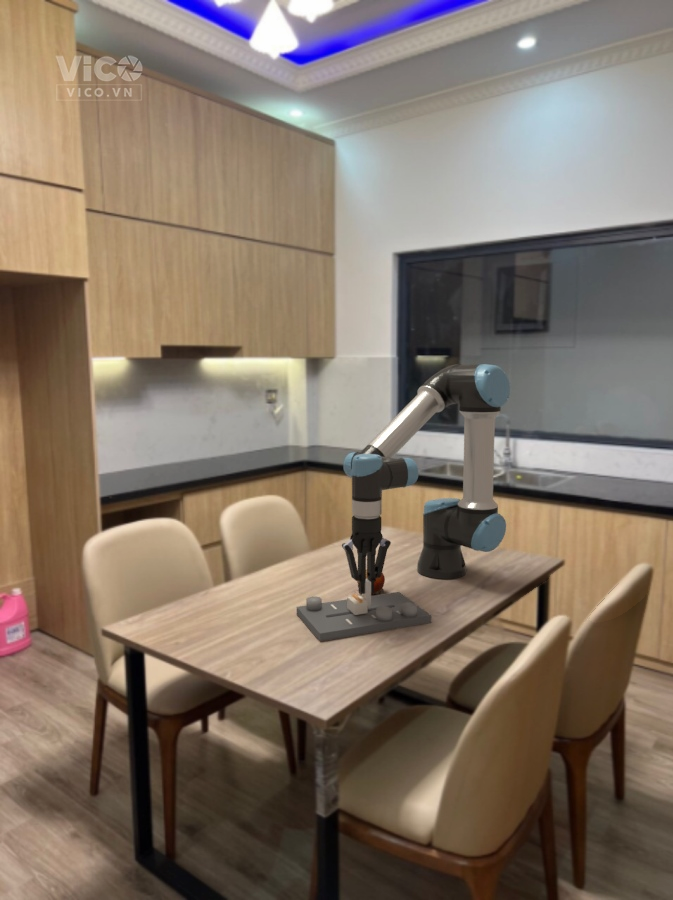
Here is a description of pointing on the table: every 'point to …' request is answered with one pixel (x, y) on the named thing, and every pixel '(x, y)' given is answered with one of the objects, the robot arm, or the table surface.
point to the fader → (357, 604)
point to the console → (360, 616)
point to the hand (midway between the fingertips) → (366, 604)
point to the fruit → (377, 584)
